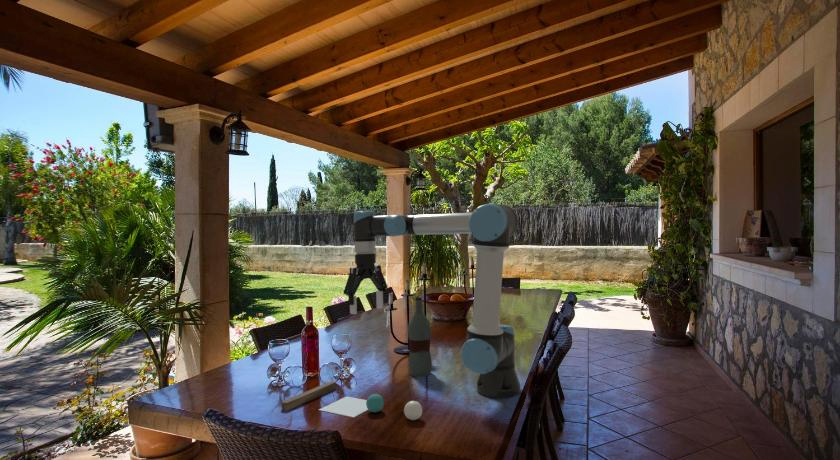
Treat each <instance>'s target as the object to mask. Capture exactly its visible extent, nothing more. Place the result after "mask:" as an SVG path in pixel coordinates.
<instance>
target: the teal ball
mask: <svg viewBox="0 0 840 460" xmlns="http://www.w3.org/2000/svg"><path fill="white" fill-rule="evenodd" d="M366 400H367V401H366V406H367V408H368V410H367V411H369V412H371V413H378V412H380V411H382V410H383V408H384V405H385V403H384V402H385V401H384V398H383V397H382V396H381V395H380V394H378V393H373V394H370V395H369V396H367V399H366Z"/></svg>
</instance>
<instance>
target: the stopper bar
mask: <svg viewBox="0 0 840 460" xmlns="http://www.w3.org/2000/svg"><path fill="white" fill-rule="evenodd" d="M336 387H337V383H336V381H328V382H325V383H323V384H321V385H318V386H316V387H314V388H311V389H309V390H306V391H304V392H301V393H299V394H297V395H294V396H293V397H289V398H288V399H286V400H283V401H281V410H282V411H286V412H287V411H290V410H293V409H294V408H297V407H299V406H301V405H304V404H306V403H307V402H310V401H312V400H315V399H317V398H319V397H321V396H324V395H326V394H328V393H331V392H333V391H335V390H336V389H337V388H336Z"/></svg>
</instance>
